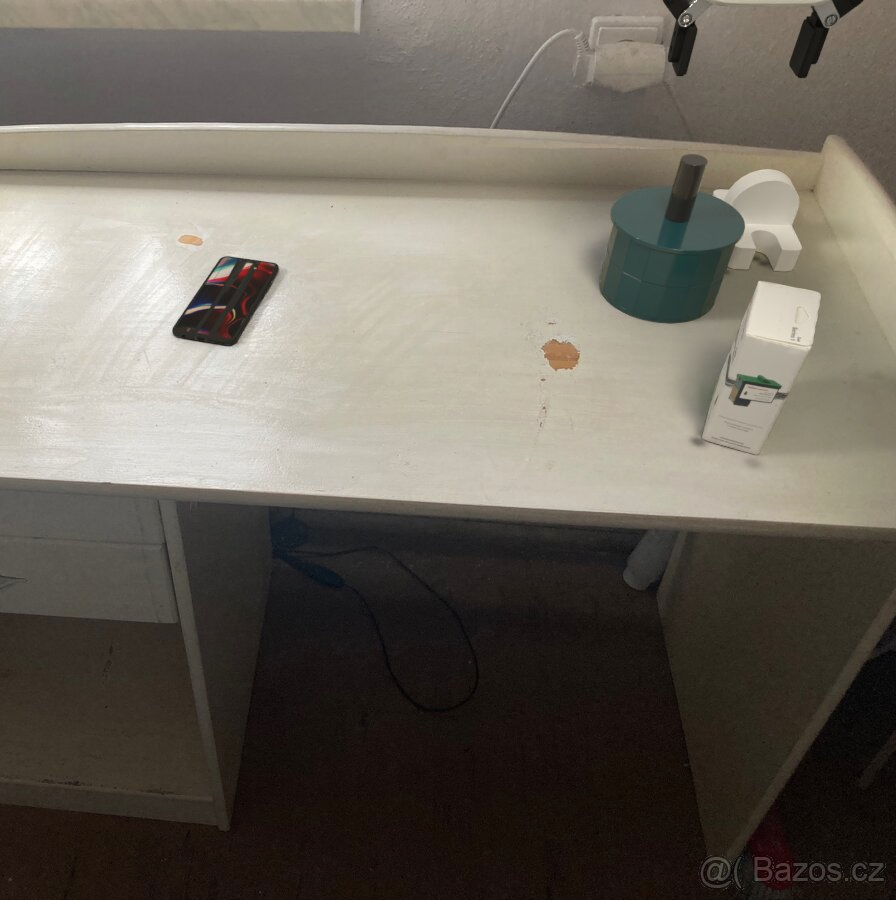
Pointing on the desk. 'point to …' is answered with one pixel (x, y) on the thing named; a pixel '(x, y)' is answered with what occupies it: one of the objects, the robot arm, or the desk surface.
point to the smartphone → (226, 300)
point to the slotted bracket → (765, 219)
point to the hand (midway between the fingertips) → (737, 71)
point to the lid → (679, 215)
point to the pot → (660, 280)
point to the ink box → (762, 366)
